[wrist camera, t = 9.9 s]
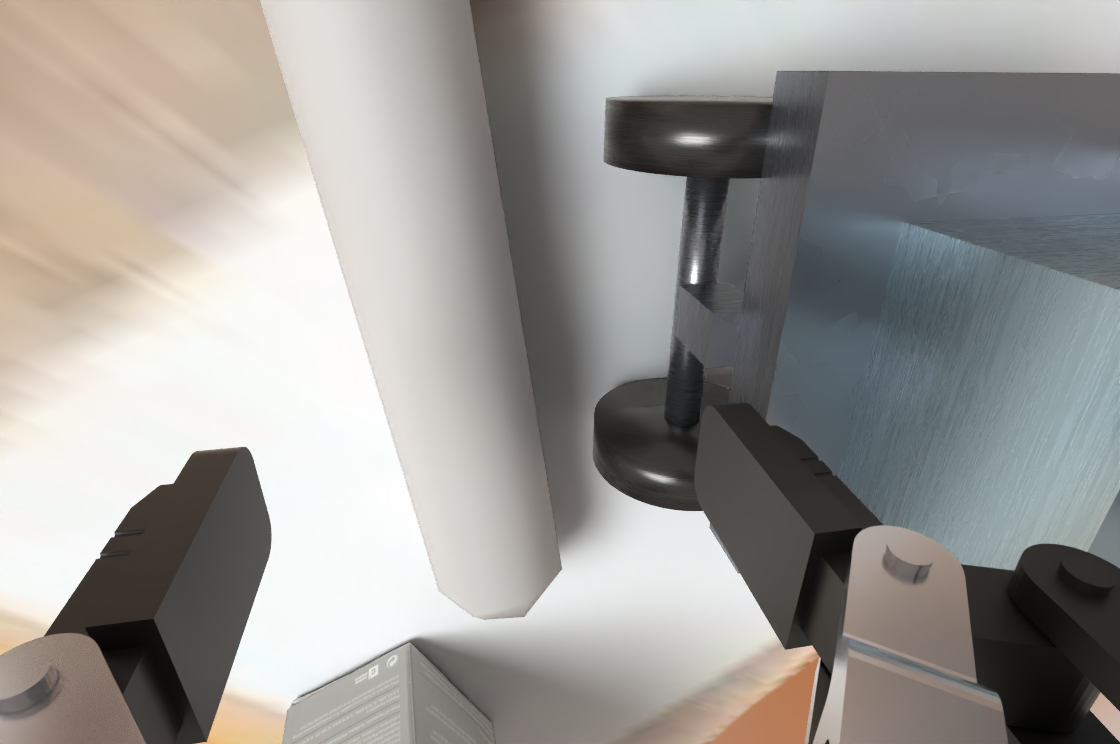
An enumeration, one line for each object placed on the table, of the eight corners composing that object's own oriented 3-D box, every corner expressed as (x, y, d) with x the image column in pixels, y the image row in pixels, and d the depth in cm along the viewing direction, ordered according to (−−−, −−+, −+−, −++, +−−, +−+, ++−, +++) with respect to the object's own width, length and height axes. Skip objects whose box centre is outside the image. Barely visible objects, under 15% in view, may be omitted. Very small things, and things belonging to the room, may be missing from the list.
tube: (597, 605, 23) (478, -316, 11) (469, 679, 21) (160, -357, 9) (532, 527, 27) (396, -205, 16) (420, 582, 25) (165, -216, 14)
